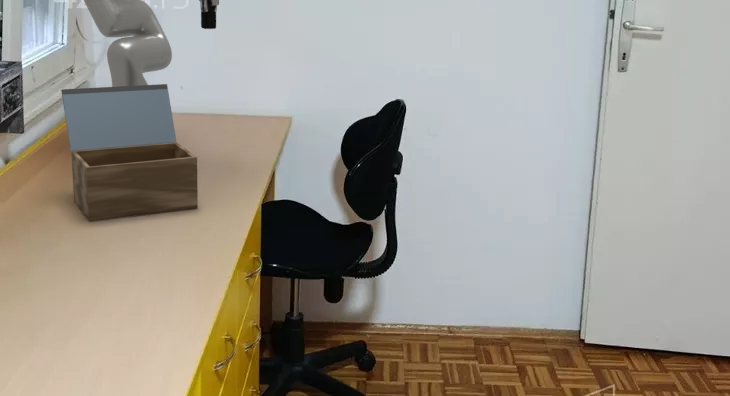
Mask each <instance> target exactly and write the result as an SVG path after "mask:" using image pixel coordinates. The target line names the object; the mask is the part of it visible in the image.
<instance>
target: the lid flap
mask: <svg viewBox="0 0 730 396" xmlns="http://www.w3.org/2000/svg"><path fill="white" fill-rule="evenodd" d="M61 97H62V104H63V111H64V117H65V123H66V125H65V126H66V130H67V137H68V144H69V149H70V152H71V151H80V150H92V149H103V148H115V147H127V146H139V145H151V144H163V143H174V142H177V136H176V132H175V131H176V130H175V125H174V118H173V113H172V106H171V100H170V94H169V88H168V84H167V83H166V84H165V83H163V84H162V83H160V84H148V85H138V86H119V87H112V86H104V87H103V86H102V87H101V86H100V87H83V88H65V89H63V88H62V89H61ZM177 143H178V142H177Z"/></svg>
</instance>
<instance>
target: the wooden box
mask: <svg viewBox="0 0 730 396" xmlns="http://www.w3.org/2000/svg"><path fill="white" fill-rule="evenodd" d="M70 152H71V168H72V170H71V171H72V173H71V174H72V185H73V186H72V191H73V203H74V205H76V207H77V208H78V210H79V211H80V212H81V213H82V214H83V215H84V217H85V218H86V220H87V221H88V222H89V223H90V222H98V221H99V222H100V221H107V220H114V219H115V220H116V219H122V218H133V217H138V216H145V215H147V216H148V215H153V214H154V215H155V214H164V213H169V212H170V213H171V212H179V211H188V210H195V209H198V205H199V203H198V202H199V200H198V197H199V195H198V189H199V188H198V157H197V156H196V155H194V154H193V153H192V152H191V151H190V150H188V149H186V148H185V147H184V146H183V145H181V144H180V143H178V142H174V143H163V144H151V145H139V146H127V147H115V148H103V149H92V150H80V151H70Z"/></svg>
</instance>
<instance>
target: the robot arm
mask: <svg viewBox="0 0 730 396" xmlns="http://www.w3.org/2000/svg"><path fill="white" fill-rule="evenodd" d="M83 1H84V3H85V5H86V8H87V10H88V12H89V14H90V16H91V17H92V19H93V21H94V24H95V25H96V28H97V29H98V31H99V32H100V34H101V35H102V36H104V37H106V38H118V39H116V40H114V41H113V42H111V43H110V44H109V46H108V49H107V52H106V59H107V63H108V64H107V65H108V67H109V71H110V72H109V73H110V77H111V87H119V86H138V85H149V84H148V82H147V80H146V79H145V77H144V74H145V73H151V72H156V71H162V70H165V69H166V68H168V67H169V65H170V64H171V62H172V59H173V53H172V51H173V50H172V48H171V44H170V42H169V40H168V39H167V36H166V34H165V32H164V30H163V28H162V26H161V24H160V22H159V20H158V18H157V16H156V14H155V13H154V10H153V9H152V8H151V6H150V5H149V4H148V3H146V2H145V1H143V0H83ZM198 1H199V3H200V27H201V29H204V30H215V29H216V28H217V10H218V6H219V5H220V0H198Z"/></svg>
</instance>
